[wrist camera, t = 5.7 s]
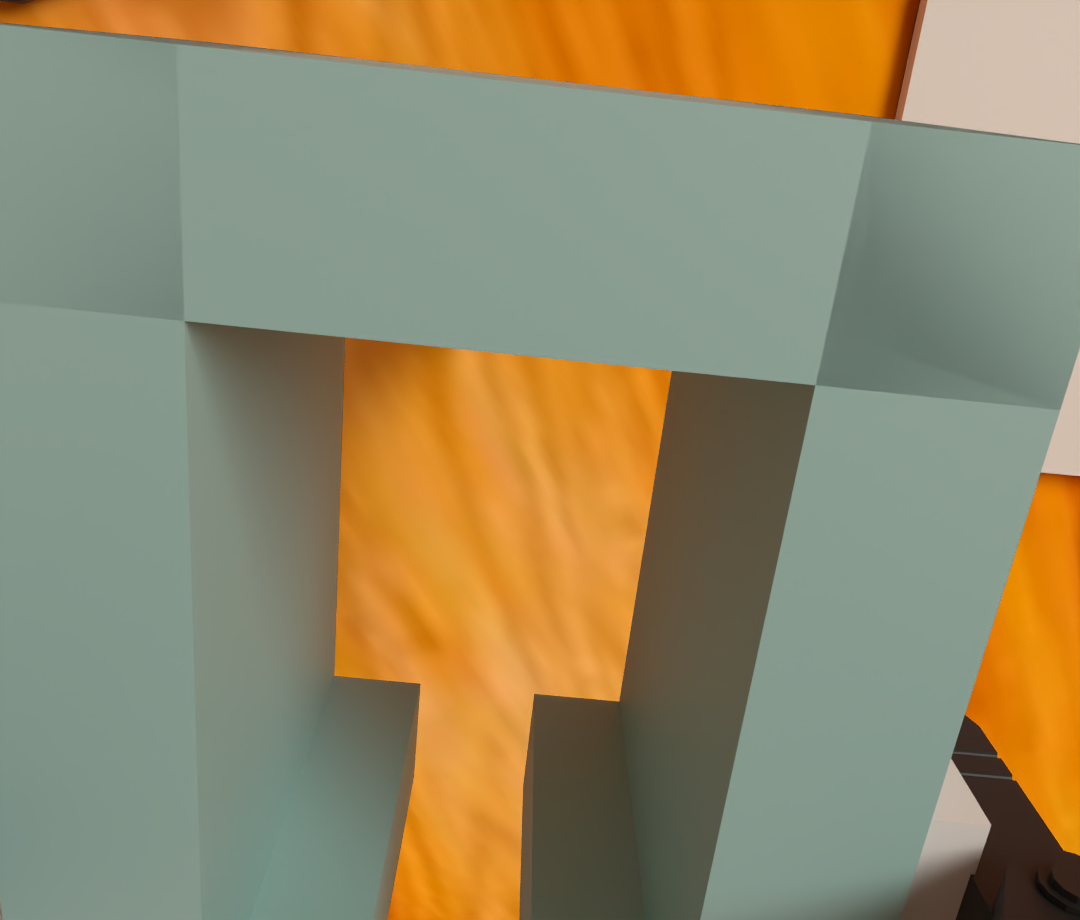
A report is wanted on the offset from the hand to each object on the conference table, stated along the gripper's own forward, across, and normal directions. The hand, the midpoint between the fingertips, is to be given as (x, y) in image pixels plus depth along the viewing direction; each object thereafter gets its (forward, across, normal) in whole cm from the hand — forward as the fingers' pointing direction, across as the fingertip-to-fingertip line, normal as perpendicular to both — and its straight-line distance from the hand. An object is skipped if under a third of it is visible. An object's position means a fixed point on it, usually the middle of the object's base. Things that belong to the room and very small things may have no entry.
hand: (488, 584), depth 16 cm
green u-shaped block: (0, 0, +2) cm, 2 cm away
